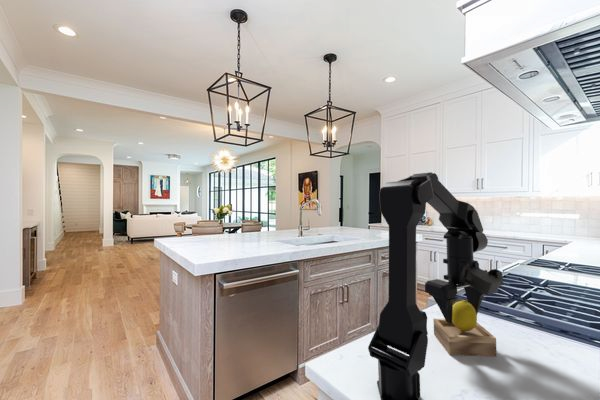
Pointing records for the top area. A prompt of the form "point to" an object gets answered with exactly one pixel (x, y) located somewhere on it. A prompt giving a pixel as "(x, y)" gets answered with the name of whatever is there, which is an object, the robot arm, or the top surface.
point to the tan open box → (465, 339)
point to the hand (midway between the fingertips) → (461, 319)
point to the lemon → (464, 316)
